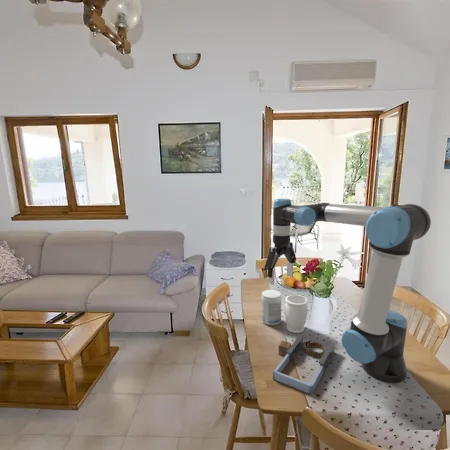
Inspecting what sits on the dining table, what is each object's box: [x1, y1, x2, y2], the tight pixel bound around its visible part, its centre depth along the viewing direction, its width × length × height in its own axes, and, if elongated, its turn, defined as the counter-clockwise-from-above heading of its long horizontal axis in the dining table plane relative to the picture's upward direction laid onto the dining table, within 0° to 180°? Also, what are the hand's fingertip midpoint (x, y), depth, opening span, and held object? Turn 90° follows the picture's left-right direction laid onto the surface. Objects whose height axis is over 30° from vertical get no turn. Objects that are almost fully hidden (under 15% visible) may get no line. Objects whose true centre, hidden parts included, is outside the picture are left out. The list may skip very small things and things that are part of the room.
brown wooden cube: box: [277, 340, 292, 357], centre depth 131 cm, size 4×4×4 cm
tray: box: [272, 354, 324, 395], centre depth 117 cm, size 13×14×3 cm
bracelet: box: [303, 340, 326, 358], centre depth 132 cm, size 9×9×3 cm
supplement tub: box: [261, 289, 282, 326], centre depth 155 cm, size 10×10×15 cm
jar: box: [284, 294, 309, 334], centre depth 148 cm, size 11×10×15 cm
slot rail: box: [287, 332, 336, 373], centre depth 129 cm, size 16×14×4 cm
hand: (280, 280), depth 143 cm, fingers open, 13 cm apart
